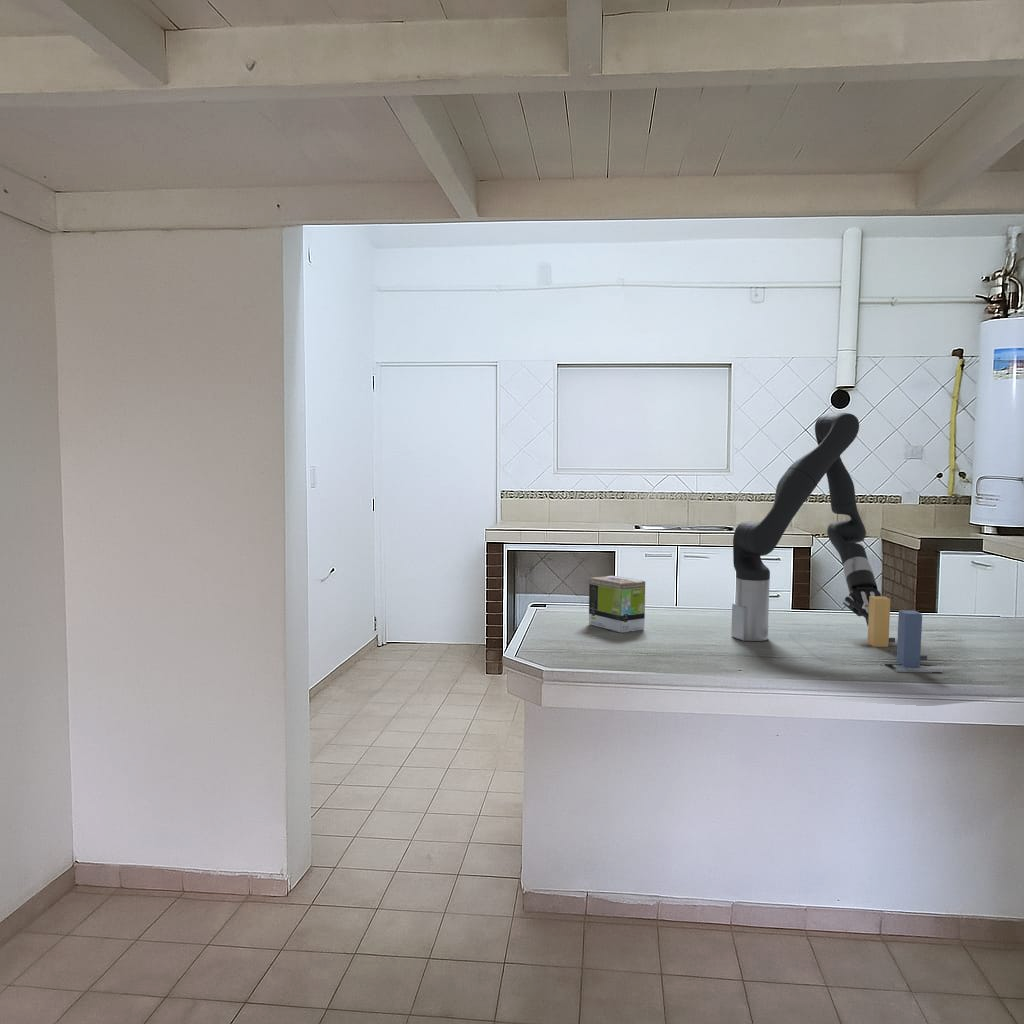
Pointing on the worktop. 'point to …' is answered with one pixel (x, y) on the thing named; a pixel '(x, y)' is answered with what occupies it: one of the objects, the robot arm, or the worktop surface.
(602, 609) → the tea box
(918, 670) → the bolt plate
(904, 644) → the fixed leg
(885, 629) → the block
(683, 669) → the worktop surface
